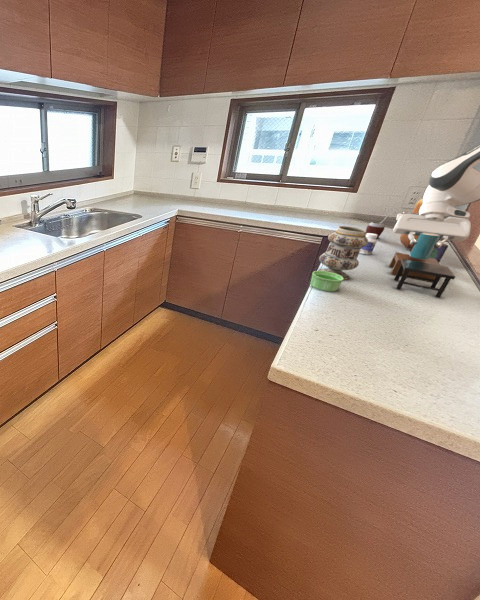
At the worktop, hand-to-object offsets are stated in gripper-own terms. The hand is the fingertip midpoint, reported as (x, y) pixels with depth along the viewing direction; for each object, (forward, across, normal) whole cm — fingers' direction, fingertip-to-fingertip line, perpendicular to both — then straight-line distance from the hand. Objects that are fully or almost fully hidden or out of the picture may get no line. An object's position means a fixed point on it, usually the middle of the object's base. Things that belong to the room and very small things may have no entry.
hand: (425, 245), depth 122 cm
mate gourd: (-34, -10, +50) cm, 62 cm away
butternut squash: (-22, +5, +39) cm, 45 cm away
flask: (-7, +6, +24) cm, 25 cm away
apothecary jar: (+23, -24, -7) cm, 34 cm away
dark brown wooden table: (+21, 0, -4) cm, 21 cm away
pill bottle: (-8, -14, +24) cm, 29 cm away
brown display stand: (+8, 0, +9) cm, 12 cm away
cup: (+3, 0, +4) cm, 5 cm away
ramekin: (+35, -26, -19) cm, 48 cm away
